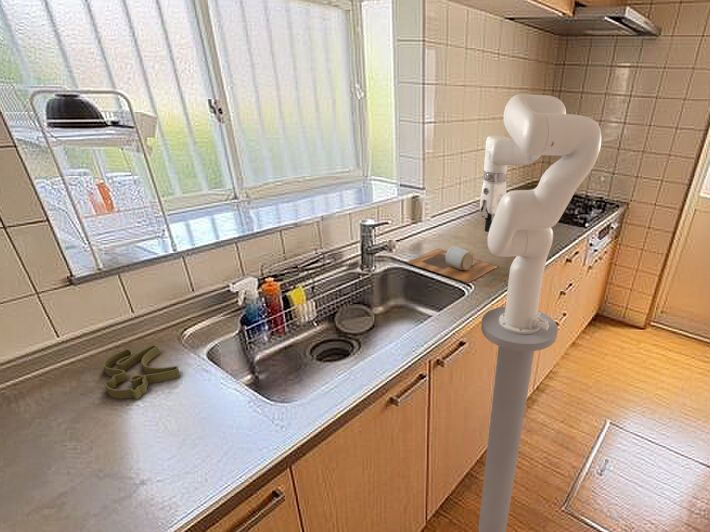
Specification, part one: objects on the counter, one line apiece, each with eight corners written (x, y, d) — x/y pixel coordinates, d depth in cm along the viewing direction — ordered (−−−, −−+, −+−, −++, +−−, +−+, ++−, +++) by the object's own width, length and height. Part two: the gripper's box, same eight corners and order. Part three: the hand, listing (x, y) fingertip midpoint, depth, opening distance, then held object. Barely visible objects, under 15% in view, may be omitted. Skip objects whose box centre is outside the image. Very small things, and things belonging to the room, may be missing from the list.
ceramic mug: (461, 273, 150) (462, 253, 146) (444, 267, 154) (445, 247, 151) (479, 266, 157) (481, 247, 154) (462, 260, 162) (464, 241, 158)
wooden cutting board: (497, 266, 159) (497, 266, 159) (468, 283, 144) (468, 282, 143) (438, 249, 172) (438, 249, 172) (406, 262, 157) (406, 262, 157)
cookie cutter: (185, 379, 90) (183, 372, 89) (118, 407, 81) (114, 399, 80) (155, 347, 100) (153, 340, 99) (91, 369, 91) (88, 361, 90)
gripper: (493, 182, 128) (487, 239, 136) (515, 175, 139) (509, 229, 147) (472, 178, 131) (468, 234, 140) (496, 172, 142) (491, 224, 151)
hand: (489, 231), depth 144 cm, fingers closed
